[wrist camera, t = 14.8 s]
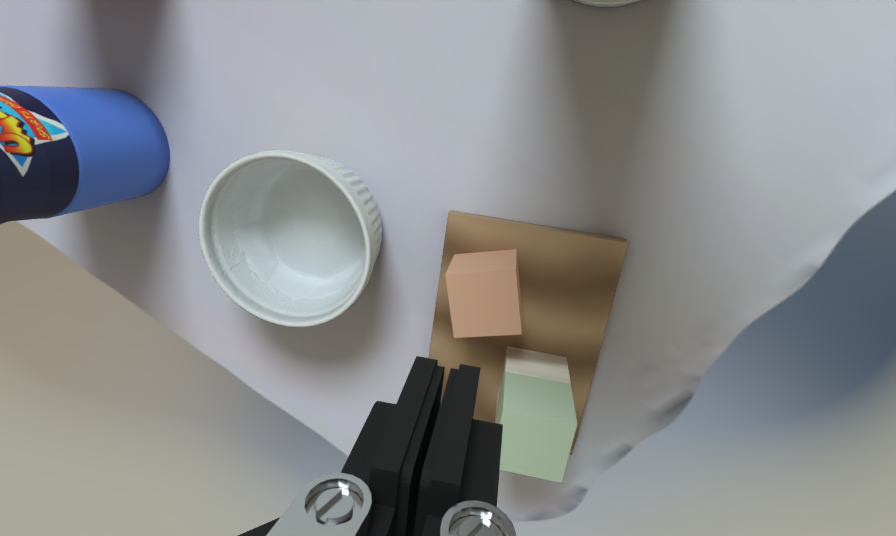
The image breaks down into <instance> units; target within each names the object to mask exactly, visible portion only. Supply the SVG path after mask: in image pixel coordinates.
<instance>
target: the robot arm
mask: <svg viewBox="0 0 896 536" xmlns="http://www.w3.org/2000/svg"><path fill="white" fill-rule="evenodd" d="M574 1H576V2H579V3H581V4H585V5H591V6H597V7H615V6H622V5H626V4H630V3H634V2H638V1H640V0H574ZM480 369H481V367H475V366H470V365H464V364H460V366H459V369H454V368H451V369H450V373H449V376H448V380H447V384H446V387H445V391H444V394H443V398H442V401H441V396H442V388H443V379H444V371H445V367H443V366H438V360H436V359H430V358H424V357H419V356H417V357H416V359H415V361H414V364H413V366H412V368H411V371H410V373H409V375H408V378H407V380H406V383H405V385H404V387H403V390H402V392H401V395H400V397H399V399H398V402H397V404H391V403H386V402H380V401H377V402H376V403H375V404H374V406H373V408H372V410H371V412H370V414H369V416H368V418H367V420H366V422H365V424H364V426H363V428H362V430H361V432H360V434H359V437H358V439H357V441H356V443H355V445H354V447H353V449H352V451H351V453H350V455H349V457H348V459H347V461H346V463H345V465H344V467H343V469H342V472H341V473H330V474H327V475H323V476H320V477H318V478H316V479H314V480H312V481H311V482H309V483H308V484H307V485H306V486H305V487H304V488H303V489H302V491H301V492H300V493H299V494H298V495H297V497H296V498H295V499H294V501H293V502H292V503H291V504H290V506H289V507H288V508H287V510H286V511H285V512H284V514H283V515H282V516H281V517H280V518H278V519H275V520H273V521H271V522H268V523H266V524H264V525H261V526H259V527H257V528H254V529H252V530H250V531H247V532H245V533H243V534H240V535H238V536H516V533H515V530H514V527H513V524H512V522H511V521H510V519H509V518H508V517H507V515H506V514H505V513H503V512H502V511H501V510H500V509H499V508H497V495H498V482H499V469H500V457H501V444H502V432H503V424H498V423H492V422H487V421H482V420H476V419H473V416H474V409H475V402H476V396H477V389H478V383H479V376H480ZM440 404H441V405H440Z"/></svg>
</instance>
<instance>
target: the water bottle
mask: <svg viewBox="0 0 896 536" xmlns="http://www.w3.org/2000/svg"><path fill="white" fill-rule="evenodd" d="M168 166H169V146H168V141H167V137H166V134H165V132H164V129H163V127H162V125H161V123H160V122H159V120H158V118H157V117H156V115H155V114H154V113H153V112H152V111H151V109H150V108H149V107H148V106H147V105H146V104H144V103H143V102H142V101H141V100H139V99H138V98H136V97H135V96H133V95H131V94H129V93H126V92H124V91H121V90H115V89H100V88H71V87H39V86H0V224H2V223H5V222H8V221H18V220H29V219H41V218H51V217H55V216H60V215H64V214H68V213H72V212H77V211H81V210H85V209H89V208H93V207H98V206H102V205H106V204H110V203H114V202H118V201H122V200H126V199H130V198H135V197H139V196H143V195H146V194H148V193H150V192H152V191H154V190H155V189H156V188H157V187H158V186H159V185H160V184H161V182H162V181H163V179H164V178H165V176H166V173H167V170H168Z"/></svg>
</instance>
